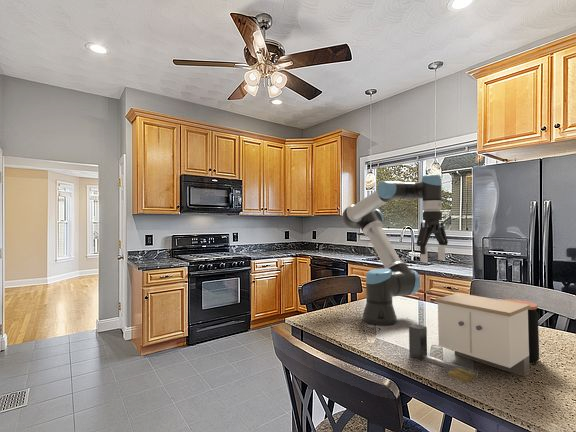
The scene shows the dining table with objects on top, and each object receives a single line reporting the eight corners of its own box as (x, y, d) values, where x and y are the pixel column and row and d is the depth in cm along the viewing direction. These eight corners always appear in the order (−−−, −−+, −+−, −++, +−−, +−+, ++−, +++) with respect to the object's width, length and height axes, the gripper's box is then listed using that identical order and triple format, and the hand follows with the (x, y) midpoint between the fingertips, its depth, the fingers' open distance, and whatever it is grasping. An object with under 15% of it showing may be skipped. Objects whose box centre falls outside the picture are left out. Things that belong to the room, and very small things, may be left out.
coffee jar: (492, 352, 110) (490, 299, 110) (520, 350, 111) (519, 298, 111) (516, 365, 99) (515, 307, 100) (548, 364, 100) (546, 306, 101)
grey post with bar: (409, 356, 106) (408, 326, 107) (415, 353, 109) (415, 324, 109) (473, 379, 90) (472, 343, 91) (479, 375, 93) (478, 340, 93)
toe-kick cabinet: (435, 361, 102) (434, 299, 103) (459, 350, 111) (458, 293, 112) (511, 388, 85) (509, 313, 86) (532, 372, 94) (530, 304, 95)
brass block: (448, 377, 92) (448, 372, 92) (456, 372, 95) (456, 367, 95) (466, 384, 88) (466, 379, 88) (474, 379, 91) (474, 374, 91)
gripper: (423, 209, 125) (424, 264, 124) (455, 211, 140) (456, 259, 139) (406, 210, 131) (407, 262, 131) (439, 212, 146) (440, 258, 145)
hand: (433, 261), depth 135 cm, fingers open, 13 cm apart
